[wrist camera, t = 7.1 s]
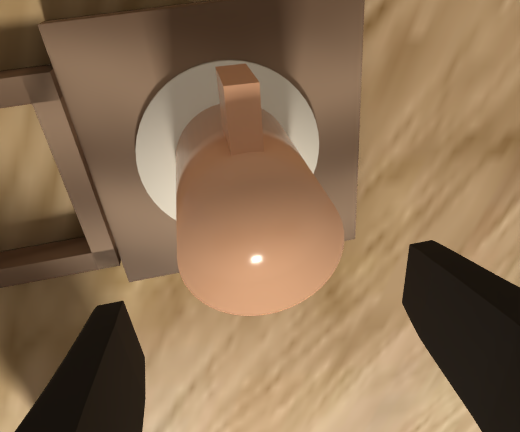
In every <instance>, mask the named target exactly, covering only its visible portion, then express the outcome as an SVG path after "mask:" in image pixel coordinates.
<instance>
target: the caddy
mask: <svg viewBox="0 0 520 432" xmlns="http://www.w3.org/2000/svg"><path fill="white" fill-rule="evenodd" d="M363 25H364V0H212V1H204V2H196V3H188V4H179V5H171V6H163V7H155V8H147V9H139V10H131V11H123V12H115V13H107V14H99V15H91V16H82V17H74V18H66V19H58V20H50V21H44V22H42V23H40V24H38V28H39V30H40V33H41V36H42V39H43V42H44V45H45V47H46V50H47V53H48V56H49V59H50V61H51V64H50V65H43V66H36V67H28V68H21V69H13V70H6V71H0V108H5V107H12V106H19V105H26V104H32V105H33V107H34V110H35V112H36V115H37V117H38V120H39V122H40V125H41V127H42V130H43V132H44V135H45V137H46V140H47V142H48V145H49V147H50V150H51V152H52V155H53V157H54V160H55V162H56V165H57V167H58V170H59V172H60V175H61V177H62V180H63V182H64V185H65V187H66V190H67V192H68V195H69V197H70V200H71V202H72V205H73V207H74V210H75V212H76V215H77V217H78V220H79V222H80V225H81V227H82V230H83V232H84V235H85V237H81V238H76V239H70V240H65V241H59V242H53V243H48V244H42V245H37V246H31V247H25V248H20V249H14V250H8V251H3V252H0V288H2V287H7V286H13V285H18V284H24V283H29V282H34V281H40V280H45V279H50V278H56V277H61V276H66V275H72V274H77V273H82V272H88V271H93V270H99V269H104V268H109V267H115V266H120V262H121V261H122V264H123V266H124V269H125V272H126V275H127V278H128V280H129V282H133V281H138V280H143V279H148V278H154V277H159V276H164V275H169V274H175V273H180V272H179V269H178V263H177V230H176V148H177V144H178V140H179V138H180V136H181V134H182V131H183V130H184V128H185V127H186V126H187V124H188V123H189V122H190V121H191V120H192V119H193V118H194V117H195V116H196V115H197V114H199V113H200V112H202V111H203V110H205V109H207V108H209V107H211V106H214V105H217V104H220V102H219V94H218V86H217V77H216V69H215V67H218V66H227V65H236V64H247V66H248V67H249V68H250V70H251V71H252V73H253V74H254V75H255V77H256V78H257V79H258V81H259V82H260V97H261V108H262V109H264V110H266V111H267V112H268V113H270V114H271V115H272V116H273V117H274V118H275V119H276V120H277V121H278V122H279V123H280V125H281V126H282V128H283V129H284V131H285V132H286V134H287V135H288V137H289V138H290V140H291V141H292V143H293V144H294V146H295V147H296V149H297V150H298V152H299V153H300V155H301V156H302V158H303V159H304V161H305V162H306V164H307V165H308V167H309V168H310V170H311V171H312V173H313V174H314V176H315V177H316V179H317V180H318V182H319V183H320V185H321V186H322V188H323V189H324V191H325V192H326V194H327V195H328V197H329V198H330V200H331V201H332V203H333V204H334V206H335V207H336V209H337V211H338V213H339V215H340V217H341V220H342V223H343V228H344V241H347V240H352V239H355V228H356V203H357V178H358V152H359V127H360V102H361V76H362V51H363Z"/></svg>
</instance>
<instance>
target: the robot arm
mask: <svg viewBox="0 0 520 432" xmlns="http://www.w3.org/2000/svg"><path fill="white" fill-rule="evenodd" d="M402 304H403V306H404V308H405V310H406V312H407V314H408V316H409V318H410V320H411V322H412V324H413V326H414V328H415V330H416V332H417V334H418V336H419V338H420V339H421V341H422V342H423V344H424V345H425V347H426V348H427V350H428V351H429V353H430V354H431V356H432V357H433V359H434V360H435V362H436V363H437V365H438V366H439V368H440V369H441V371H442V372H443V374H444V375H445V377H446V378H447V380H448V381H449V382H450V384H451V385H452V387H453V388H454V390H455V391H456V393H457V394H458V396H459V397H460V399H461V400H462V402H463V403H464V405H465V406H466V408H467V409H468V410H469V412H470V413H471V415H472V416H473V418H474V420H475V421H476V423H477V424H478V426H479V428H480V429H481V431H482V432H520V287H518V286H516V285H514V284H512V283H510V282H508V281H506V280H505V279H503V278H501V277H499V276H497V275H495V274H494V273H492V272H490V271H488V270H486V269H484V268H483V267H481V266H479V265H477V264H476V263H474V262H472V261H470V260H468V259H467V258H465V257H463V256H461V255H459V254H458V253H456V252H454V251H452V250H450V249H448V248H447V247H445V246H443V245H441V244H439V243H437V242H435V241H433V240H430V241H425V242H420V243H415V244H410V246H409V253H408V261H407V269H406V276H405V284H404V292H403V299H402ZM144 407H145V357H144V354H143V351H142V349H141V346H140V343H139V341H138V338H137V336H136V333H135V330H134V328H133V325H132V322H131V320H130V317H129V314H128V312H127V309H126V307H125V304H124V301H119V302H114V303H109V304H104V305H99V306H97V307H96V308H95V309H94V311H93V312H92V314H91V316H90V317H89V319H88V321H87V322H86V324H85V326H84V327H83V329H82V331H81V332H80V334H79V336H78V337H77V339H76V341H75V342H74V344H73V346H72V347H71V349H70V350H69V352H68V354H67V355H66V357H65V359H64V360H63V362H62V363H61V365H60V366H59V368H58V369H57V371H56V372H55V374H54V376H53V377H52V379H51V380H50V382H49V383H48V385H47V386H46V388H45V389H44V391H43V392H42V394H41V395H40V397H39V398H38V400H37V401H36V402H35V404H34V405H33V407H32V408H31V409H30V411H29V412H28V414H27V415H26V417H25V418H24V419H23V421H22V422H21V424H20V425H19V426H18V428H17V429H16V431H15V432H142V427H143V417H144Z"/></svg>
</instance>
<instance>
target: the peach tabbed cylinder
mask: <svg viewBox="0 0 520 432" xmlns="http://www.w3.org/2000/svg"><path fill="white" fill-rule="evenodd" d="M215 69H216V77H217V86H218V94H219V102H220V104H217V105H214V106H211V107H209V108H207V109H205V110H203V111H202V112H200V113H199V114H197V115H196V116H195V117H194V118H193V119H192V120H191V121H190V122H189V123H188V124H187V126H186V127H185V128H184V130H183V131H182V134H181V136H180V138H179V140H178V144H177V148H176V230H177V263H178V269H179V272H180V275H181V278H182V280H183V282H184V284H185V285H186V286H187V288H188V289H189V291H190V292H191V293H192V294H193V295H194V296H195V297H196V298H197V299H199V300H200V301H201V302H203V303H204V304H206V305H208V306H210V307H211V308H214V309H216V310H219V311H221V312H225V313H228V314H234V315H242V316H258V315H266V314H271V313H275V312H279V311H282V310H285V309H288V308H290V307H292V306H295V305H297V304H299V303H300V302H302V301H304V300H306V299H307V298H309V297H310V296H311V295H313V294H314V293H315V292H316V291H318V290H319V289H320V288H321V287H322V286H323V285H324V284H325V283H326V282H327V281H328V279H329V278H330V277H331V275H332V274H333V272H334V271H335V269H336V267H337V265H338V263H339V261H340V258H341V255H342V252H343V247H344V228H343V223H342V220H341V217H340V215H339V213H338V211H337V209H336V207H335V206H334V204H333V203H332V201H331V200H330V198H329V197H328V195H327V194H326V192H325V191H324V189H323V188H322V186H321V185H320V183H319V182H318V180H317V179H316V177H315V176H314V174H313V173H312V171H311V170H310V168H309V167H308V165H307V164H306V162H305V161H304V159H303V158H302V156H301V155H300V153H299V152H298V150H297V149H296V147H295V146H294V144H293V143H292V141H291V140H290V138H289V137H288V135H287V134H286V132H285V131H284V129H283V128H282V126H281V125H280V123H279V122H278V121H277V120H276V119H275V118H274V117H273V116H272V115H271V114H270V113H268V112H267V111H266V110H264V109H262V108H261V97H260V82H259V81H258V79H257V78H256V77H255V75H254V74H253V73H252V71H251V70H250V68H249V67H248V66H247V64H236V65H227V66H218V67H215Z"/></svg>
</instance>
